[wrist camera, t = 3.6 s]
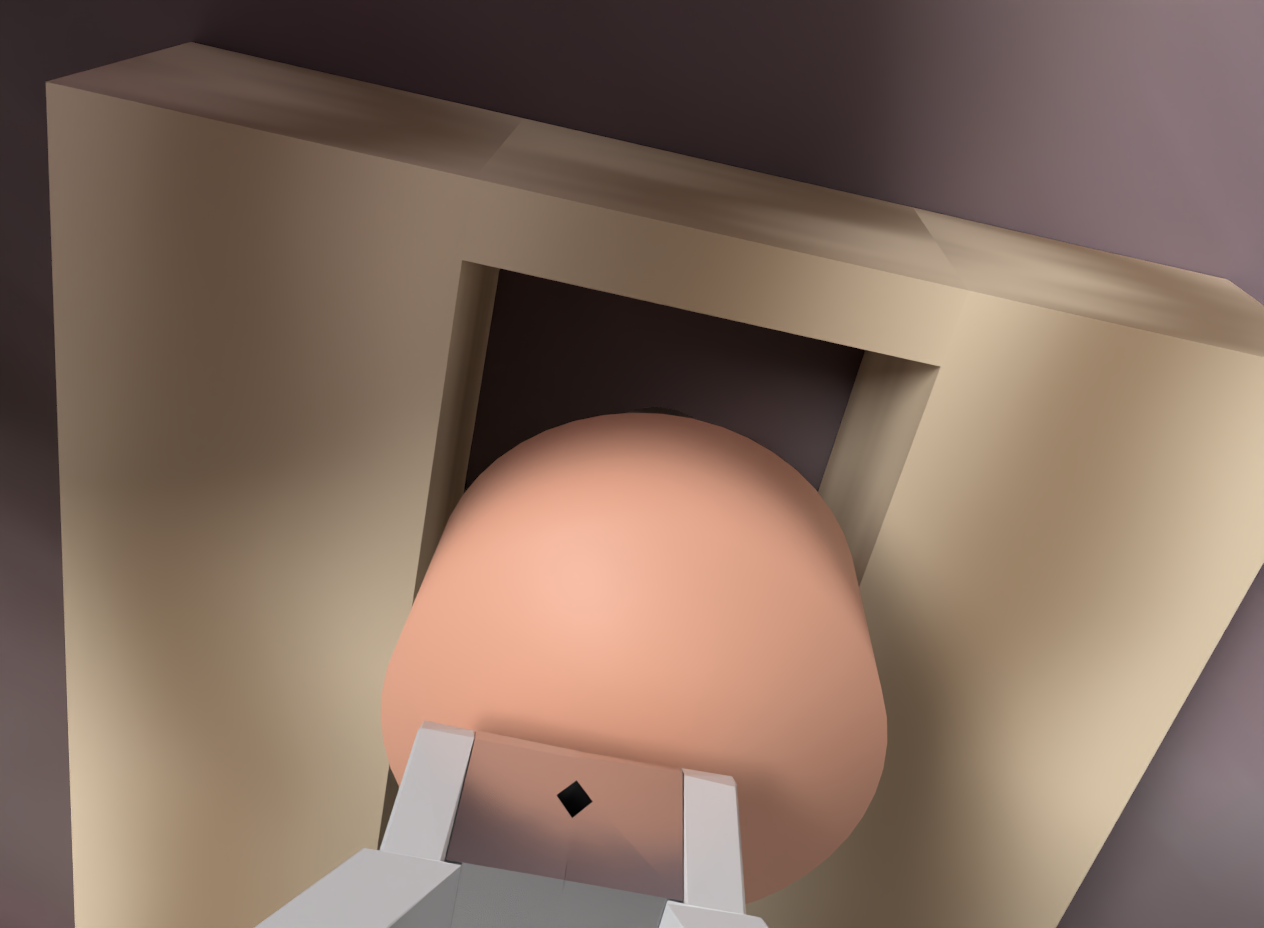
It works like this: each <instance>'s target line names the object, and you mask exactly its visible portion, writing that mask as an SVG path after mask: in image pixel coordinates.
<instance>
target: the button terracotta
mask: <svg viewBox="0 0 1264 928" xmlns="http://www.w3.org/2000/svg"><path fill="white" fill-rule="evenodd" d="M424 720H425V721H430V722H435V723H440V724H444V725H449V726H454V727H459V728H464V729H469V730H473V731H475V732H476V734H477V731H478V730H479V731H484V732H488V733H493V734H498V735H503V736H508V737H513V738H517V739H522V740H527V741H532V742H537V743H542V744H547V745H551V746H556V747H561V748H566V749H571V750H576V751H581V752H587V753H593V754H599V755H604V756H610V757H616V758H622V759H627V760H633V761H639V762H645V763H650V764H656V765H662V766H667V767H673V768H678V769H679V770H681V769H682V768H684V769H690V770H697V771H703V772H709V773H715V774H721V775H727V776H732V777H733V778H734V780H735V782H736V784H737V791H738V805H739V820H740V834H741V848H742V862H743V876H744V890H745V904H748V903H751V902H754V901H757V900H760V899H762V898H764V897H766V896H768V895H770V894H773V893H775V892H777V891H779V890H781V889H783V888H785V887H787V886H788V885H790V884H792V883H793V882H795V881H797V880H798V879H800V878H802V877H803V876H805V875H806V874H808V873H809V872H811V871H812V870H813V869H814V868H816V867H817V866H818V865H819V864H821V863H822V862H823V861H824V860H826V859H827V858H828V857H829V856H830V855H831V854H832V853H833V852H834V851H835V850H836V849H837V848H838V847H839V846H840V845H841V844H842V843H843V842H844V841H845V840H846V839H847V838H848V837H849V835H850V834H851V833H852V831H853V830H854V828H855V827H856V826H857V824H858V823H859V822H860V820H861V819H862V817H863V816H864V814H865V812H866V810H867V808H868V806H869V804H870V802H871V801H872V799H873V797H874V795H875V793H876V790H877V787H878V784H879V780H880V777H881V774H882V771H883V768H884V761H885V755H886V748H887V715H886V710H885V704H884V699H883V694H882V689H881V684H880V680H879V675H878V671H877V666H876V662H875V657H874V653H873V648H872V644H871V639H870V635H869V631H868V626H867V622H866V617H865V613H864V608H863V604H862V599H861V595H860V590H859V586H858V581H857V577H856V572H855V568H854V563H853V559H852V555H851V552H850V549H849V547H848V544H847V541H846V538H845V535H844V533H843V531H842V529H841V527H840V525H839V523H838V522H837V520H836V518H835V516H834V514H833V512H832V511H831V509H830V508H829V506H828V505H827V504H826V502H825V501H824V500H823V498H822V497H821V496H820V494H819V493H818V492H817V490H816V489H815V488H814V487H813V486H812V485H811V484H810V483H809V482H808V481H807V480H806V479H805V478H804V477H803V476H802V475H801V474H800V473H799V472H798V471H797V470H796V469H795V468H793V467H792V466H791V465H789V464H788V463H787V462H785V461H784V460H783V459H781V458H780V457H779V456H778V455H776V454H775V453H774V452H772V451H770V450H768V449H767V448H765V447H763V446H761V445H760V444H758V443H756V442H754V441H753V440H751V439H749V438H747V437H745V436H742V435H740V434H738V433H735V432H733V431H730V430H728V429H726V428H723V427H721V426H717V425H714V424H710V423H707V422H703V421H700V420H696V419H694V418H692V417H690V416H689V415H687V414H684V413H682V412H680V411H676V410H673V409H668V408H661V407H648V408H640V409H636V410H632V411H629V412H626V413H622V414H610V415H601V416H596V417H591V418H586V419H581V420H577V421H572V422H569V423H567V424H564V425H561V426H558V427H555V428H552V429H549V430H546V431H544V432H542V433H540V434H538V435H536V436H534V437H532V438H530V439H528V440H526V441H524V442H522V443H520V444H519V445H517V446H516V447H514V448H513V449H511V450H510V451H508V452H507V453H505V454H504V455H502V456H501V457H499V458H498V459H497V460H496V461H495V462H493V463H492V464H491V465H490V466H489V467H488V468H487V469H486V470H485V471H483V472H482V473H481V474H480V475H479V476H478V477H477V478H476V480H475V481H474V482H473V483H472V484H471V486H470V487H469V488H468V489H467V490H466V492H465V493H464V494H463V495H462V497H461V499H460V500H459V502H458V504H457V505H456V507H455V509H454V510H453V512H452V514H451V515H450V517H449V519H448V522H447V524H446V527H445V529H444V531H443V534H442V536H441V539H440V541H439V543H438V546H437V548H436V551H435V553H434V555H433V558H432V560H431V563H430V565H429V567H428V570H427V572H426V575H425V577H424V580H423V582H422V584H421V587H420V589H419V592H418V594H417V596H416V599H415V601H414V604H413V606H412V608H411V611H410V613H409V616H408V618H407V620H406V623H405V625H404V628H403V630H402V632H401V635H400V637H399V640H398V642H397V644H396V647H395V649H394V652H393V654H392V657H391V659H390V662H389V664H388V667H387V671H386V676H385V680H384V685H383V689H382V700H381V725H382V734H383V742H384V746H385V750H386V753H387V757H388V761H389V764H390V768H391V770H392V772H393V774H394V777H395V779H396V781H397V783H398V785H399V788H400V784H401V781H402V778H403V775H404V772H405V769H406V766H407V763H408V759H409V756H410V753H411V750H412V747H413V744H414V741H415V738H416V734H417V731H418V730H419V728H420V726H421V725H422V723H423V722H424Z"/></svg>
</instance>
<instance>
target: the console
mask: <svg viewBox="0 0 1264 928" xmlns="http://www.w3.org/2000/svg"><path fill="white" fill-rule="evenodd" d="M46 104H47V133H48V161H49V190H50V219H51V248H52V276H53V305H54V334H55V362H56V391H57V420H58V449H59V477H60V506H61V535H62V563H63V592H64V621H65V650H66V678H67V707H68V736H69V764H70V793H71V822H72V851H73V879H74V908H75V928H254V927H255V926H257V925H258V924H259V923H261V922H262V921H264V920H265V919H266V918H268V917H269V916H270V915H272V914H273V913H275V912H276V911H277V910H279V909H280V908H281V907H283V906H284V905H286V904H287V903H288V902H290V901H291V900H292V899H294V898H295V897H297V896H298V895H299V894H301V893H302V892H303V891H305V890H306V889H307V888H309V887H310V886H312V885H313V884H314V883H316V882H317V881H318V880H320V879H321V878H323V877H324V876H325V875H327V874H328V873H329V872H331V871H332V870H334V869H335V868H336V867H338V866H339V865H340V864H342V863H343V862H345V861H346V860H347V859H349V858H350V857H351V856H353V855H354V854H356V853H357V852H358V851H360V850H361V849H362V848H367V849H373V850H380V847H381V844H382V841H383V838H384V834H385V831H386V828H387V825H388V822H389V819H390V816H391V813H392V809H393V806H394V803H395V800H396V797H397V794H398V791H399V785H398V783H397V781H396V779H395V777H394V774H393V772H392V770H391V768H390V764H389V761H388V757H387V753H386V750H385V746H384V742H383V734H382V725H381V700H382V689H383V685H384V680H385V676H386V671H387V667H388V664H389V662H390V659H391V657H392V654H393V652H394V649H395V647H396V644H397V642H398V640H399V637H400V635H401V632H402V630H403V628H404V625H405V623H406V620H407V618H408V616H409V613H410V611H411V608H412V606H413V604H414V601H415V599H416V596H417V594H418V592H419V589H420V587H421V584H422V582H423V580H424V577H425V575H426V572H427V570H428V567H429V565H430V563H431V560H432V558H433V555H434V553H435V551H436V548H437V546H438V543H439V541H440V539H441V536H442V534H443V531H444V529H445V527H446V524H447V522H448V519H449V517H450V515H451V514H452V512H453V510H454V509H455V507H456V505H457V504H458V502H459V500H460V499H461V497H462V495H463V494H464V487H465V481H466V475H467V469H468V463H469V456H470V450H471V444H472V438H473V432H474V425H475V419H476V413H477V407H478V401H479V394H480V388H481V382H482V376H483V369H484V363H485V357H486V351H487V345H488V338H489V332H490V326H491V320H492V314H493V307H494V301H495V295H496V289H497V283H498V276H499V270H500V268H501V269H505V270H510V271H514V272H519V273H523V274H527V275H532V276H536V277H541V278H545V279H550V280H554V281H559V282H563V283H568V284H572V285H577V286H581V287H586V288H590V289H595V290H599V291H604V292H608V293H613V294H617V295H622V296H626V297H631V298H635V299H640V300H644V301H649V302H653V303H658V304H662V305H667V306H671V307H675V308H680V309H684V310H689V311H693V312H698V313H702V314H707V315H711V316H716V317H720V318H725V319H729V320H734V321H738V322H743V323H747V324H752V325H756V326H761V327H765V328H770V329H774V330H779V331H783V332H788V333H792V334H797V335H801V336H806V337H810V338H814V339H819V340H823V341H828V342H832V343H837V344H841V345H846V346H850V347H855V348H859V349H864V350H865V352H864V355H863V358H862V361H861V364H860V367H859V370H858V373H857V376H856V379H855V382H854V385H853V388H852V391H851V394H850V397H849V400H848V403H847V406H846V409H845V412H844V415H843V419H842V422H841V425H840V428H839V431H838V434H837V437H836V440H835V443H834V446H833V449H832V452H831V455H830V458H829V461H828V464H827V467H826V470H825V473H824V476H823V479H822V482H821V485H820V488H819V491H818V493H819V494H820V496H821V497H822V498H823V500H824V501H825V502H826V504H827V505H828V506H829V508H830V509H831V511H832V512H833V514H834V516H835V518H836V520H837V522H838V523H839V525H840V527H841V529H842V531H843V533H844V535H845V538H846V541H847V544H848V547H849V549H850V552H851V555H852V559H853V563H854V568H855V572H856V577H857V581H858V586H859V590H860V595H861V599H862V604H863V608H864V613H865V617H866V622H867V626H868V631H869V635H870V639H871V644H872V648H873V653H874V657H875V662H876V666H877V671H878V675H879V680H880V684H881V689H882V694H883V699H884V704H885V710H886V715H887V748H886V755H885V761H884V768H883V771H882V774H881V777H880V780H879V784H878V787H877V790H876V793H875V795H874V797H873V799H872V801H871V802H870V804H869V806H868V808H867V810H866V812H865V814H864V816H863V817H862V819H861V820H860V822H859V823H858V824H857V826H856V827H855V828H854V830H853V831H852V833H851V834H850V835H849V837H848V838H847V839H846V840H845V841H844V842H843V843H842V844H841V845H840V846H839V847H838V848H837V849H836V850H835V851H834V852H833V853H832V854H831V855H830V856H829V857H828V858H827V859H826V860H824V861H823V862H822V863H821V864H819V865H818V866H817V867H816V868H814V869H813V870H812V871H811V872H809V873H808V874H806V875H805V876H803V877H802V878H800V879H798V880H797V881H795V882H793V883H792V884H790V885H788V886H787V887H785V888H783V889H781V890H779V891H777V892H775V893H773V894H770V895H768V896H766V897H764V898H762V899H760V900H757V901H754V902H751V903H748V904H745V905H746V915H750V916H756V917H761V918H763V920H764V921H765V922H766V924H767V925H768V926H769V928H1056V927H1057V925H1058V923H1059V922H1060V920H1061V918H1062V916H1063V914H1064V913H1065V911H1066V909H1067V907H1068V906H1069V904H1070V902H1071V900H1072V899H1073V897H1074V895H1075V893H1076V892H1077V890H1078V888H1079V886H1080V885H1081V883H1082V881H1083V879H1084V878H1085V876H1086V874H1087V872H1088V871H1089V869H1090V867H1091V865H1092V863H1093V862H1094V860H1095V858H1096V856H1097V855H1098V853H1099V851H1100V849H1101V848H1102V846H1103V844H1104V842H1105V841H1106V839H1107V837H1108V835H1109V834H1110V832H1111V830H1112V828H1113V827H1114V825H1115V823H1116V821H1117V820H1118V818H1119V816H1120V814H1121V812H1122V811H1123V809H1124V807H1125V805H1126V804H1127V802H1128V800H1129V798H1130V797H1131V795H1132V793H1133V791H1134V790H1135V788H1136V786H1137V784H1138V783H1139V781H1140V779H1141V777H1142V776H1143V774H1144V772H1145V770H1146V769H1147V767H1148V765H1149V763H1150V761H1151V760H1152V758H1153V756H1154V754H1155V753H1156V751H1157V749H1158V747H1159V746H1160V744H1161V742H1162V740H1163V739H1164V737H1165V735H1166V733H1167V732H1168V730H1169V728H1170V726H1171V725H1172V723H1173V721H1174V719H1175V718H1176V716H1177V714H1178V712H1179V710H1180V709H1181V707H1182V705H1183V703H1184V702H1185V700H1186V698H1187V696H1188V695H1189V693H1190V691H1191V689H1192V688H1193V686H1194V684H1195V682H1196V681H1197V679H1198V677H1199V675H1200V674H1201V672H1202V670H1203V668H1204V666H1205V665H1206V663H1207V661H1208V659H1209V658H1210V656H1211V654H1212V652H1213V651H1214V649H1215V647H1216V645H1217V644H1218V642H1219V640H1220V638H1221V637H1222V635H1223V633H1224V631H1225V630H1226V628H1227V626H1228V624H1229V623H1230V621H1231V619H1232V617H1233V615H1234V614H1235V612H1236V610H1237V608H1238V607H1239V605H1240V603H1241V601H1242V600H1243V598H1244V596H1245V594H1246V593H1247V591H1248V589H1249V587H1250V586H1251V584H1252V582H1253V580H1254V579H1255V577H1256V575H1257V573H1258V572H1259V570H1260V568H1261V566H1262V564H1263V563H1264V306H1263V305H1262V304H1261V303H1259V302H1258V301H1257V300H1255V299H1254V298H1252V297H1251V296H1250V295H1248V294H1247V293H1246V292H1244V291H1243V290H1241V289H1240V288H1239V287H1237V286H1236V285H1235V284H1233V283H1232V282H1230V281H1229V280H1227V279H1223V278H1219V277H1214V276H1210V275H1205V274H1201V273H1197V272H1192V271H1188V270H1184V269H1179V268H1175V267H1171V266H1166V265H1162V264H1157V263H1153V262H1149V261H1144V260H1140V259H1136V258H1131V257H1127V256H1123V255H1118V254H1114V253H1109V252H1105V251H1101V250H1096V249H1092V248H1088V247H1083V246H1079V245H1075V244H1070V243H1066V242H1061V241H1057V240H1053V239H1048V238H1044V237H1040V236H1035V235H1031V234H1027V233H1022V232H1018V231H1013V230H1009V229H1005V228H1000V227H996V226H992V225H987V224H983V223H979V222H974V221H970V220H965V219H961V218H957V217H952V216H948V215H944V214H939V213H935V212H930V211H926V210H922V209H917V208H913V207H909V206H904V205H900V204H896V203H891V202H887V201H882V200H878V199H874V198H869V197H865V196H861V195H856V194H852V193H848V192H843V191H839V190H834V189H830V188H826V187H821V186H817V185H813V184H808V183H804V182H800V181H795V180H791V179H786V178H782V177H778V176H773V175H769V174H765V173H760V172H756V171H752V170H747V169H743V168H738V167H734V166H730V165H725V164H721V163H717V162H712V161H708V160H704V159H699V158H695V157H690V156H686V155H682V154H677V153H673V152H669V151H664V150H660V149H656V148H651V147H647V146H642V145H638V144H634V143H629V142H625V141H621V140H616V139H612V138H608V137H603V136H599V135H594V134H590V133H586V132H581V131H577V130H573V129H568V128H564V127H560V126H555V125H551V124H546V123H542V122H538V121H533V120H529V119H525V118H520V117H516V116H511V115H507V114H503V113H498V112H494V111H490V110H485V109H481V108H477V107H472V106H468V105H463V104H459V103H455V102H450V101H446V100H442V99H437V98H433V97H429V96H424V95H420V94H415V93H411V92H407V91H402V90H398V89H394V88H389V87H385V86H381V85H376V84H372V83H367V82H363V81H359V80H354V79H350V78H346V77H341V76H337V75H333V74H328V73H324V72H319V71H315V70H311V69H306V68H302V67H298V66H293V65H289V64H285V63H280V62H276V61H271V60H267V59H263V58H258V57H254V56H250V55H245V54H241V53H237V52H232V51H228V50H223V49H219V48H215V47H210V46H206V45H202V44H197V43H193V42H189V43H185V44H181V45H178V46H174V47H170V48H167V49H163V50H159V51H156V52H152V53H148V54H145V55H141V56H138V57H134V58H130V59H127V60H123V61H119V62H116V63H112V64H108V65H105V66H101V67H97V68H94V69H90V70H86V71H83V72H79V73H76V74H72V75H68V76H65V77H61V78H57V79H54V80H50V81H46Z"/></svg>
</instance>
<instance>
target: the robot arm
mask: <svg viewBox="0 0 1264 928" xmlns="http://www.w3.org/2000/svg"><path fill="white" fill-rule="evenodd" d="M254 928H769V926H768V925H767V924H766V922H765V921H764V920H763V918H761V917H756V916H750V915H746V905H745V890H744V876H743V862H742V848H741V834H740V820H739V805H738V791H737V784H736V782H735V780H734V778H733V777H732V776H727V775H721V774H715V773H709V772H703V771H697V770H690V769H684V768H682V769H681V770H679V769H678V768H673V767H667V766H662V765H656V764H650V763H645V762H639V761H633V760H627V759H622V758H616V757H610V756H604V755H599V754H593V753H587V752H581V751H576V750H571V749H566V748H561V747H556V746H551V745H547V744H542V743H537V742H532V741H527V740H522V739H517V738H513V737H508V736H503V735H498V734H493V733H488V732H484V731H479V730H478V731H477V734H476V732H475V731H473V730H469V729H464V728H459V727H454V726H449V725H444V724H440V723H435V722H430V721H425V720H424V722H423V723H422V725H421V726H420V728H419V730H418V731H417V734H416V738H415V741H414V744H413V747H412V750H411V753H410V756H409V759H408V763H407V766H406V769H405V772H404V775H403V778H402V781H401V784H400V788H399V791H398V794H397V797H396V800H395V803H394V806H393V809H392V813H391V816H390V819H389V822H388V825H387V828H386V831H385V834H384V838H383V841H382V844H381V847H380V850H373V849H367V848H362V849H361V850H360V851H358V852H357V853H356V854H354V855H353V856H351V857H350V858H349V859H347V860H346V861H345V862H343V863H342V864H340V865H339V866H338V867H336V868H335V869H334V870H332V871H331V872H329V873H328V874H327V875H325V876H324V877H323V878H321V879H320V880H318V881H317V882H316V883H314V884H313V885H312V886H310V887H309V888H307V889H306V890H305V891H303V892H302V893H301V894H299V895H298V896H297V897H295V898H294V899H292V900H291V901H290V902H288V903H287V904H286V905H284V906H283V907H281V908H280V909H279V910H277V911H276V912H275V913H273V914H272V915H270V916H269V917H268V918H266V919H265V920H264V921H262V922H261V923H259V924H258V925H257V926H255V927H254Z"/></svg>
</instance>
